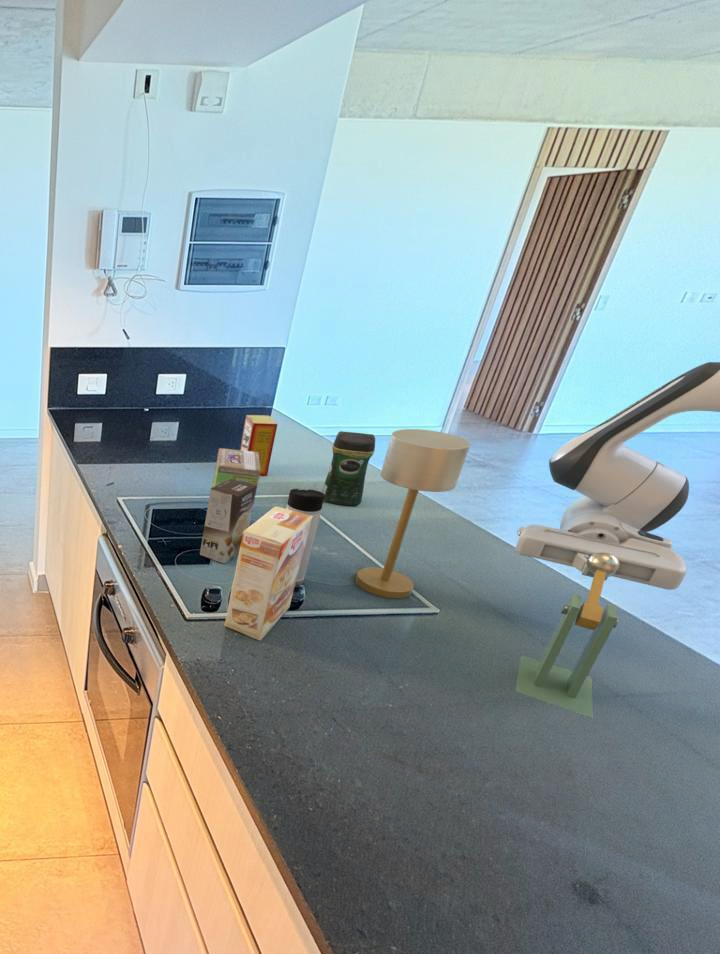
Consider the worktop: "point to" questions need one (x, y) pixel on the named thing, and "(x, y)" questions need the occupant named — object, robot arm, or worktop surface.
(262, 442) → the baking soda box
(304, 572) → the travel mug
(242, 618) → the coffeecake box
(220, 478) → the tea box
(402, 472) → the table lamp
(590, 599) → the lever
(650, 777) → the worktop surface
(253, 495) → the coffee box
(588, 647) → the green post frame stand
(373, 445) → the coffee jar
